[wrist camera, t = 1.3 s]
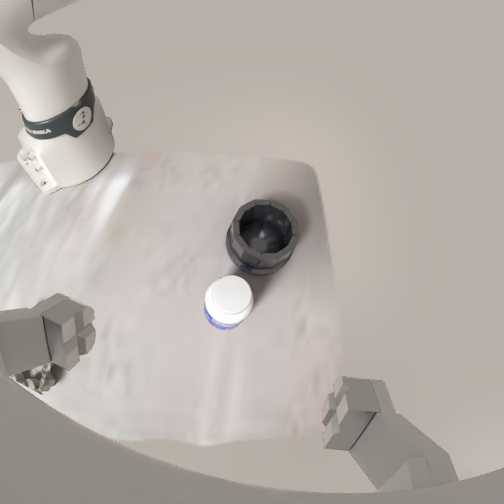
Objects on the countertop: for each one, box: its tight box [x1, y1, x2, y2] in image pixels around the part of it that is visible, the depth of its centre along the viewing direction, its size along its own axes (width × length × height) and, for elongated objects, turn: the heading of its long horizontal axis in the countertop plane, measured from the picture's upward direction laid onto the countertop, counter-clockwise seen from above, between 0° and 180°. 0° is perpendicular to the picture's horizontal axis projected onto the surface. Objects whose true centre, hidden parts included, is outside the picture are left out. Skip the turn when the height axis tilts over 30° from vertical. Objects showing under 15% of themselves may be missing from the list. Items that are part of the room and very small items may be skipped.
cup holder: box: [226, 200, 299, 275], centre depth 40 cm, size 10×10×5 cm
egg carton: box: [11, 362, 56, 395], centre depth 29 cm, size 11×8×4 cm
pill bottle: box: [204, 275, 254, 330], centre depth 34 cm, size 5×5×10 cm
